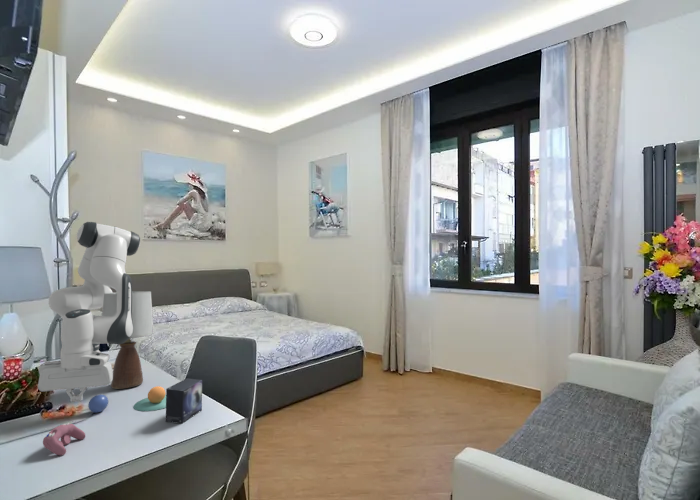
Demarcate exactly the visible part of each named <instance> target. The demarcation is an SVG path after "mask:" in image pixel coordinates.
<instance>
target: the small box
mask: <svg viewBox="0 0 700 500" xmlns="http://www.w3.org/2000/svg"><path fill="white" fill-rule="evenodd" d="M165 393H166V394H165V395H166V408H165V422H166V423H174V424H175V423H176V424H183V422H184V423H185V422H187V421H188V420H189V419H191V418H192V417H194V416H196V415H197V414H198V413H200V412H202V410H203V403H202V402H203V379H198V378H197V379H196V378H195V379H194V378H185V379H182V380H181V381H179V382H177V383H175V384H173V385H171V386H169V387H167V388H166V389H165ZM199 411H200V412H199ZM193 415H194V416H193ZM186 420H187V421H186Z"/></svg>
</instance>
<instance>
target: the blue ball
mask: <svg viewBox="0 0 700 500" xmlns="http://www.w3.org/2000/svg"><path fill="white" fill-rule="evenodd" d="M108 405H109V399H108V396H107V395H105V394H96V395H94V396H93V397H91V398H90V399H89V401H88V403H87V407H88V409H89V411H91V412H92V413H95V414H96V413H101V412H103V411H105V410H106V409H107V407H108Z"/></svg>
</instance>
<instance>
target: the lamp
mask: <svg viewBox="0 0 700 500" xmlns="http://www.w3.org/2000/svg"><path fill="white" fill-rule="evenodd" d="M152 303H153V301H152V291H146V290H144V291H143V290H142V291H138V290H137V291H132V319H133V334H132V336H131V337H130V338H129V339H128V340H127V341H126V342H124V343H123V344H118V345H119V350H118V351H117V352H118V353H117V355H116V357H115V361H114V364H113V367H112V371H113V380H112V382H111V383H110V388H112V389H117V390H118V389H119V390H121V389H128V388H129V389H130V388H134V387H138V386H140V385H142V384H143V383H144V377H143V371H142V370H143V369H142V364H141V359H140V356H139V353H138V350H137V348H136V347H135V346H136V344H137V342H136V341H134V340H133V341H132V340H131V339H138V338H144V337H148V336H151V335H154V334H155V331H154V317H153V304H152ZM116 313H117V292H116V291H115V292H113V293H104V300H103V307H102V313H101V316H114V315H115V314H116Z"/></svg>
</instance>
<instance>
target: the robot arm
mask: <svg viewBox="0 0 700 500" xmlns="http://www.w3.org/2000/svg"><path fill="white" fill-rule="evenodd" d="M76 233H77V234H76V239H77V242H78V244H79V245H80V246H82V247H83V248H85V250H84V253H83V255H82V258H81V260H80V263H79V266H78V268H77V272H78V276H79V277H80V278H81V279H83V280H84V281H83V284H82V285H79V286H68V287H62V288H59V289H56V290H54V291H53V292H51V294H50V296H48V305H49V308H50V309H51V310H52V312H54V313H55V314H57V315H58V316H60V318H62V319H61V320H62V323H61V326H60V327H61V328H60V341H61V345H62V346H61V349H60V359H59V360H53V361H44V362H43V363H41V364H40V365H39V367H38V374H39V378H38V382H37V389H38V390H39V391H40V392H50V391H60V390H61V391H62V390H66V391H65V392H66V394H67V396H68V397H69V398H70V399H69V400H70V403H73V402H74V403H76V402H81V401H83V395H84V393H85V392H86V390H87V388H93V387H95V388H96V387H107V386H109V385H111V382H112V380H113V366H112V363H111V362H110V361H109V359H110V354H108V353H105V352H101V351H100V350H99V349H100V344H109V345H119V344H123V343H124V342H126V341H127V340H128V339H129V338H130V337H131V336H132V334H133V319H132V292H133V283H132V277H131V276H130V275H129V274H128V273H127V272H126V264H127V257H130V256H134V255H135V254H136V253H137V252H138V250H139V249H140V247H141V237H140V235H139V234H138V233H136V232H134V231H132V230H131V231H130V230H127V229H124V228H120V227H117V226H113V225H108V224H102V223H97V222H96V221H95V222H94V221H86V222H84V223H83V224H82V225H80V227H79V228H78V230H77V232H76ZM112 289H114V290H115V292H117V313H116V314H115V315H114V316H102V315H94V314H93V312H92V310H93V311H94V310H99V309H101V308H102V309H103V300H104V293H114V292H113V290H112ZM74 389H79V394H75V393H74V392H73V391H74Z"/></svg>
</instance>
